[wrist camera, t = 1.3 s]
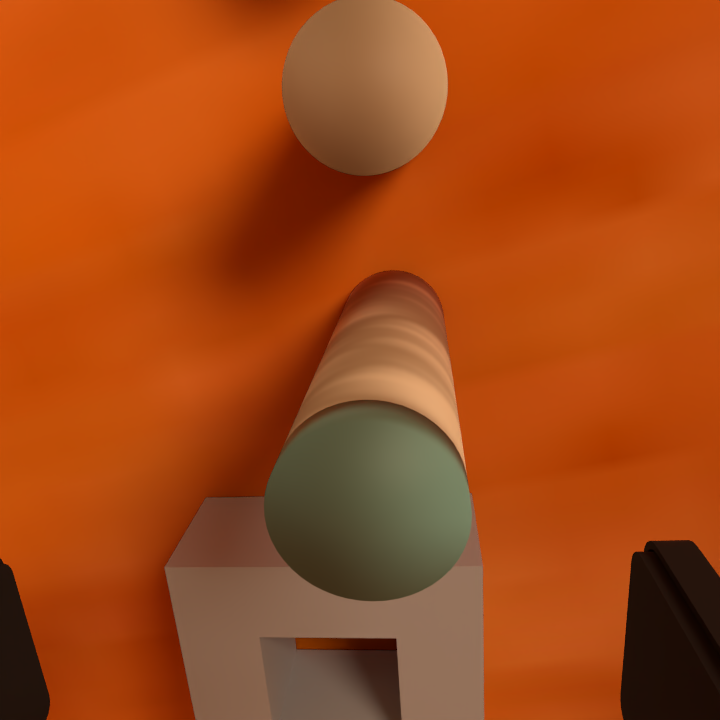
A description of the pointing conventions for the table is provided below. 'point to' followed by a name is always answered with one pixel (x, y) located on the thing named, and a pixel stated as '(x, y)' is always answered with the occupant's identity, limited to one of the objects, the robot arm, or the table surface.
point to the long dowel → (375, 452)
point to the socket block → (317, 632)
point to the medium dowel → (364, 85)
